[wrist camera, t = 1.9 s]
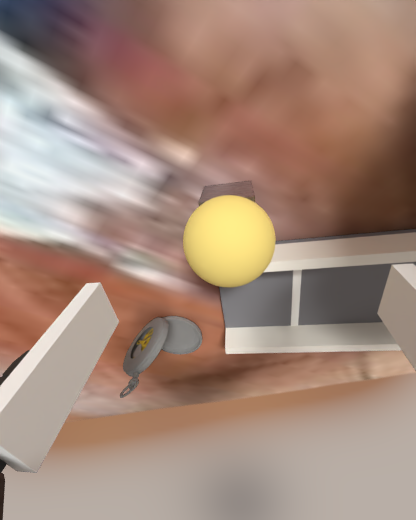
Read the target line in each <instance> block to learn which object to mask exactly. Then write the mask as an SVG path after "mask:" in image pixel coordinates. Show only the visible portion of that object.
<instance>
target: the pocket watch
mask: <svg viewBox="0 0 416 520" xmlns="http://www.w3.org/2000/svg"><path fill="white" fill-rule="evenodd" d="M145 342H146V343H145ZM144 343H145V344H144ZM201 343H202V333H201V331H200V329H199V327H198V326H197V325H196V324H195V323H193V322H192V321H190V320H188V319H186V318H182V317H178V316H167V317H163V318H160V317H158V318H155V319H153V320H152V321H150V322H149V323H148V324H147V325H146V326H145V327H144V328H143V329H142V330H141V331H140V333H139V334H138V335H137V337H136V338H135V339H134V341H133V342H132V344H131V346H130V348H129V349H128V351H127V354H126V356H125V359H124V363H123V370H124V371H125V372H126V374H127V375H129V376H132V377H133V379H131V380H130V381H129V385H128V386H127V387H126V388H125V389H124V390H123V391H122V392H121V394H120V398H123V397H125V396H127V395H128V394H129V393H130V392H132V391H133V390H134V389H135V388H136V387H137V385H138V383H139V380H138V377H139V374H140V373H141V372H143V371H144V370H145V369H146V368H147V367H148V366H149V365H150V364H151V363H152V362H153V361H154V359H155V358H156V357H157V355H158V354H159V352H160V350H161V349H162V350H164V351H166V352H169V353H173V354H187V353H191V352H194V351H195V350H197V349H198V348H199V347H200V345H201ZM128 388H129V389H130V390H129V391H128V392H127V393H125V394H124V395H123V393H124V392H125V391H126V390H127V389H128Z"/></svg>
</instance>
